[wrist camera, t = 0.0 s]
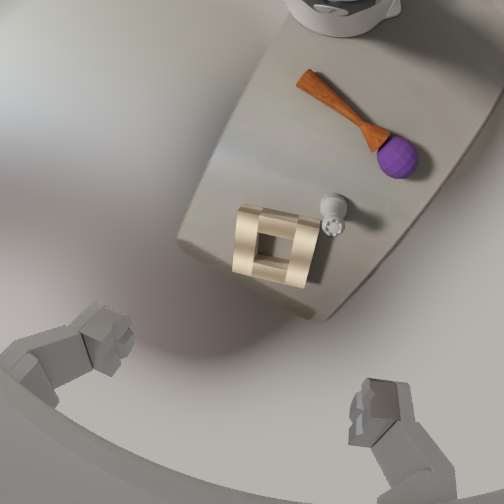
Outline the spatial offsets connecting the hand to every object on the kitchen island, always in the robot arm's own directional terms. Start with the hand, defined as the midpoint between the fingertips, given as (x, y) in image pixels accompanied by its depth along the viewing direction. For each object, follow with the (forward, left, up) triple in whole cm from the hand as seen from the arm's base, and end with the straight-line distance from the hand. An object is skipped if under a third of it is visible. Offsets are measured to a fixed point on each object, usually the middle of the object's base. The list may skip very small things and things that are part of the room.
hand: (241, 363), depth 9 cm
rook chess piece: (+10, +5, -39) cm, 41 cm away
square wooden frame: (+19, -3, -39) cm, 43 cm away
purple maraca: (-4, +6, -39) cm, 40 cm away
